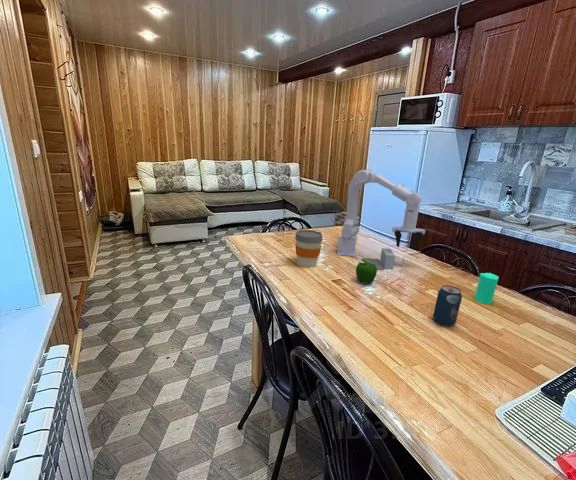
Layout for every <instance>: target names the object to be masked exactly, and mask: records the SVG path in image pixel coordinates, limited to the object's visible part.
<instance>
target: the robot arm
mask: <svg viewBox="0 0 576 480" xmlns="http://www.w3.org/2000/svg"><path fill="white" fill-rule="evenodd" d="M368 183H371V184H372V183H377V184H378V185H380V186H382V187H384V188H386V189H387V190H390V191H391V194H392V195H393V196H394V197H396V198H397V199H399V200H400V201H403V202H405V204H406V206H405V207H406V208H405V210H404V216H403V221H402V226H392V228H391V231H392V233H394V236H395V241H396V247H397V248H399V247H400V245H401V244H400V243H401V239H402V236H403V234H402V233H408V234H410V233H411V234H413V239H412V244H411V247H412V249H416V246H417V244H418V242H419V241H420V240H421V239H422V238H423V235H425V233H426V229H425V228H424V229H423V228H417V227H416V226H417V222H418V217H419V212H420V211H419V210H420V204H421V203H422V199H423V198H422V196H421V194H420V193H419V192H415V190H413V189H409V188H407V187H406V186H405V184H404V183H402V184H401V183H398V184H397V183H396V184H395V183H394V182H392V181H391V180H390V179H389V178H386V177H385V176H383V175H381V174H380V173H378V172H376V171H373V170H372V169H360V170H358V171H357V172H356V173H355V174H354V176H353V177H352V179H351V180H350V182H349V184H348V190H347V203H346V205H347V206H346V216H345V217H346V218H345V220H344V223H343V227H342V228H341V230H340V231H341V234H340V235H341V236H338V238H337V244H336V245H337V246H336V254H337V255H338V256H348V257H349V256H350V257H356V256H357V254H356V252H355V251H356V244H357V234H358V233H359V232H360V227H359V223H358V207H359V195H360V189H361V188H362V187H363V186H364V185H366V184H368Z"/></svg>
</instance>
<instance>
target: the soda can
mask: <svg viewBox="0 0 576 480" xmlns="http://www.w3.org/2000/svg"><path fill="white" fill-rule="evenodd" d="M462 299H463V294H462V290H461V289H460V288H458V287H456V286H453V285H449V284H448V285H445V284H444V285H442V286H441V288H439V290H438V292H437V297H436V301H435V305H434V309H433V315H432V317H433V319H434V322H435V323H437V324H439V325H441V326H444V327H452V326H454V325H455V324H456V323H457V320H458V315H459V312H460V308H461V303H462Z"/></svg>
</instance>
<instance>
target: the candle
mask: <svg viewBox="0 0 576 480" xmlns="http://www.w3.org/2000/svg"><path fill="white" fill-rule="evenodd" d="M498 282H499V276H498V275H496V274H494V273H491V271H490V272H484V273H482V272H480V275H479V280H478V283H477V286H476V291H475V294H474V300H475V301H476V302H477V303H480V304H483V305H492V304H493V299H494V296H495V292H496V289H497V285H498ZM491 303H492V304H491Z"/></svg>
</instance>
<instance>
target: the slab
mask: <svg viewBox="0 0 576 480" xmlns="http://www.w3.org/2000/svg"><path fill="white" fill-rule="evenodd" d="M395 259H396V254H395V253H394V252H393V251H392V249H391V248H381V254H380V260H379V261H380V263H381V265H382V266H383V268H384V270H392V271H393V270H394V265H395Z"/></svg>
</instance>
